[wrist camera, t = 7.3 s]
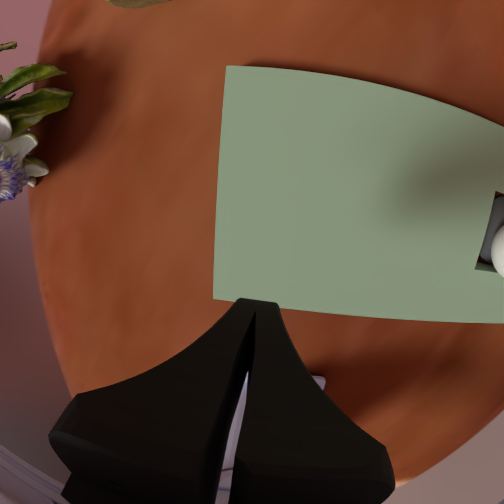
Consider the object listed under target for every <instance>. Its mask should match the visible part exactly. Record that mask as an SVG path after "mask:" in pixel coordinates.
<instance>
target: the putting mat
mask: <svg viewBox="0 0 504 504" xmlns="http://www.w3.org/2000/svg"><path fill="white" fill-rule="evenodd" d="M495 191H497V192H500V193H503V194H504V127H502V126H500V125H498V124H496V123H494V122H491V121H489V120H487V119H484V118H482V117H480V116H477V115H475V114H472V113H470V112H467V111H465V110H462V109H459V108H457V107H454V106H451V105H448V104H445V103H442V102H439V101H436V100H433V99H430V98H427V97H424V96H421V95H417V94H414V93H410V92H407V91H403V90H400V89H396V88H392V87H388V86H384V85H380V84H375V83H371V82H366V81H361V80H356V79H351V78H346V77H340V76H335V75H328V74H322V73H315V72H307V71H299V70H290V69H280V68H267V67H251V66H226V77H225V88H224V100H223V112H222V125H221V139H220V154H219V169H218V186H217V205H216V227H215V252H214V283H213V299H219V300H226V301H233V302H235V301H236V300H237V299H239V298H240V297H241V298H248V299H254V300H261V301H269V302H276V303H277V304H278V305H279V308H287V309H296V310H305V311H314V312H324V313H334V314H344V315H355V316H366V317H379V318H392V319H406V320H423V321H442V322H466V323H504V277H502V276H501V275H500V274H499V273H498V272H497V270H496V269H495V267H494V265H490V264H493V262H492V258H491V245H492V241H493V238H494V236H495V234H496V232H497V231H498V230H499V229H500V228H501V227H502V226H504V196H498V197H496V198H494V196H495ZM479 255H480V256H481V258H482V259H483V260H485V261H486V262H487V263H490V264H484V263H478V262H477V259H478V256H479Z"/></svg>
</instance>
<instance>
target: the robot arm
mask: <svg viewBox="0 0 504 504" xmlns="http://www.w3.org/2000/svg"><path fill="white" fill-rule="evenodd" d="M325 384H326V380H325V378H324V377H322V376H312V375H311V374H310V373H309V371H308V370H307V368H306V366H305V365H304V363H303V362H302V360H301V358H300V356H299V355H298V353H297V351H296V349H295V347H294V345H293V343H292V341H291V339H290V337H289V334H288V332H287V330H286V327H285V325H284V322H283V319H282V316H281V313H280V308H279V305H278V304H277V303H276V302H269V301H261V300H254V299H248V298H241V297H240V298H239V299H237V300H236V301H235V303H234V304H233V305H232V306H231V308H230V309H229V310H228V311H227V312H226V313H225V314H224V315H223V316H222V317H221V318H220V319H219V320H218V321H217V322H216V323H215V324H214V325H213V326H212V327H211V328H210V329H209V330H208V331H207V332H205V333H204V334H203V335H202V336H201V337H199V338H198V339H197V340H196V341H195V342H193V343H192V344H191V345H189V346H188V347H187V348H185V349H184V350H182V351H181V352H180V353H178V354H176V355H175V356H173V357H172V358H170V359H168V360H167V361H165V362H163V363H161V364H160V365H158V366H156V367H154V368H152V369H150V370H148V371H146V372H144V373H142V374H139V375H137V376H135V377H132V378H130V379H127V380H124V381H122V382H119V383H116V384H113V385H110V386H106V387H103V388H99V389H95V390H92V391H88V392H84V393H79V394H77V395H76V396H75V397H74V398H73V400H72V401H71V402H70V403H69V404H68V405H67V407H66V408H65V410H64V411H63V413H62V414H61V416H60V417H59V419H58V420H57V422H56V423H55V425H54V427H53V428H52V430H51V431H50V433H49V434H48V437H49V442H50V445H51V446H52V448H53V450H54V451H55V453H56V454H57V455H58V457H59V458H60V459H61V460H62V462H63V463H64V464H65V465H66V466H67V468H68V469H69V470H70V472H71V473H72V474H71V475H70V477H69V479H68V481H67V483H66V485H63V484H61V483H60V482H58V481H56V480H54V479H52V478H51V477H49V476H47V475H45V474H44V473H42V472H40V471H39V470H37V469H35V468H34V467H32V466H31V465H29V464H28V463H26V462H25V461H23V460H22V459H20V458H19V457H17V456H16V455H14V454H12V453H11V452H10V451H8V450H7V449H6V448H4V447H3V446H2V445H0V504H381V503H382V502H384V501H385V500H386V499H387V498H388V497H389V496H390V495H391V494H392V492H393V491H394V489H395V485H396V484H395V478H394V472H393V468H392V465H391V461H390V458H389V455H388V453H387V450H386V447H385V446H384V445H383V444H381V443H380V442H378V441H377V440H376V439H374V438H373V437H372V436H370V435H369V434H368V433H366V432H365V431H364V430H362V429H361V428H360V427H358V426H357V425H356V424H355V423H354V422H353V421H352V420H351V419H349V418H348V417H347V416H346V415H345V414H344V413H343V412H342V411H341V410H340V409H339V408H338V407H337V406H336V405H335V404H334V403H333V401H332V400H331V399H330V398H329V397H328V396H327V395H326V394H325V393H324V391H323V389H324V386H325ZM319 385H320V386H319ZM498 504H504V500H502V501H501V502H499V503H498Z"/></svg>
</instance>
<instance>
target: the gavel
mask: <svg viewBox="0 0 504 504" xmlns="http://www.w3.org/2000/svg"><path fill="white" fill-rule="evenodd" d="M106 1H107V2H109V3H110V4H112V5H115V6H119V7H124V8H143V7H147V6H150V5H155V4H159V3H163V2H167V1H169V0H106Z"/></svg>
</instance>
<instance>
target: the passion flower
mask: <svg viewBox="0 0 504 504" xmlns="http://www.w3.org/2000/svg"><path fill="white" fill-rule="evenodd" d="M16 47H17V42H9V43H6V44H1V45H0V52H1V51H2V50H8V49H15V48H16ZM62 74H67V73H66V72H65V71H64V72H62V71H61V70H59V69H58V68H57V67H55V66H52V65H50V64H49V63H38V64H31V65H28V66H24V67H20V68H17V69H15V70H14V71H13V72H12V73H11V74H10V75H8V76H7V78H6V79H5V80H4V81H3V82H2V80H3V78H2V75H0V202H2V201H5V200H7V199H9V200H14V199H15V196H16V195H17V194H18V193H21V192H22V187H23V186H24V185H26V184H28V185H31V186H32V187H35V184H36V178H35V177H39V176H43V175H46V174H48V173H49V169H48V166H47V163H46V162H45V161H44V160H42V159H40V158H38V157H35V156H32V155H27V153H29V152H31V151H32V149H33V148H35V147H36V146H37V145H38V140H37V138H36V136H35V135H33V133H32V132H30V131H28V130H27V129H28V128H30V127H32V126H34V125H36V124H37V123H38V122H40V121H41V119H42V118H43V117H44V116H46V115H49V114H52V113H55V112H58V111H60V110H63V109H65V108H66V107H68V105H69V102H70V98H71V97H72V96H73V92H72V91H64V90H61V89H57V88H40V89H38V90H36V91H34V92H31V93H27V94H24V95H22V96H21V97H19V98H18V99H16V100H10V99H11V98H12V97H14V96H15V95H16V94H14V95H12V96H11V97H9V98H7V99H6V98H5V97H6V96H7V95H9V94H11V93H13V92H15V91H17V90H19V89H21V88H22V87H24V86H26V85H28V84H30V83H33V82H36V81H42V80H45V79H47V78H50V77H54V76H57V75H62Z"/></svg>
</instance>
